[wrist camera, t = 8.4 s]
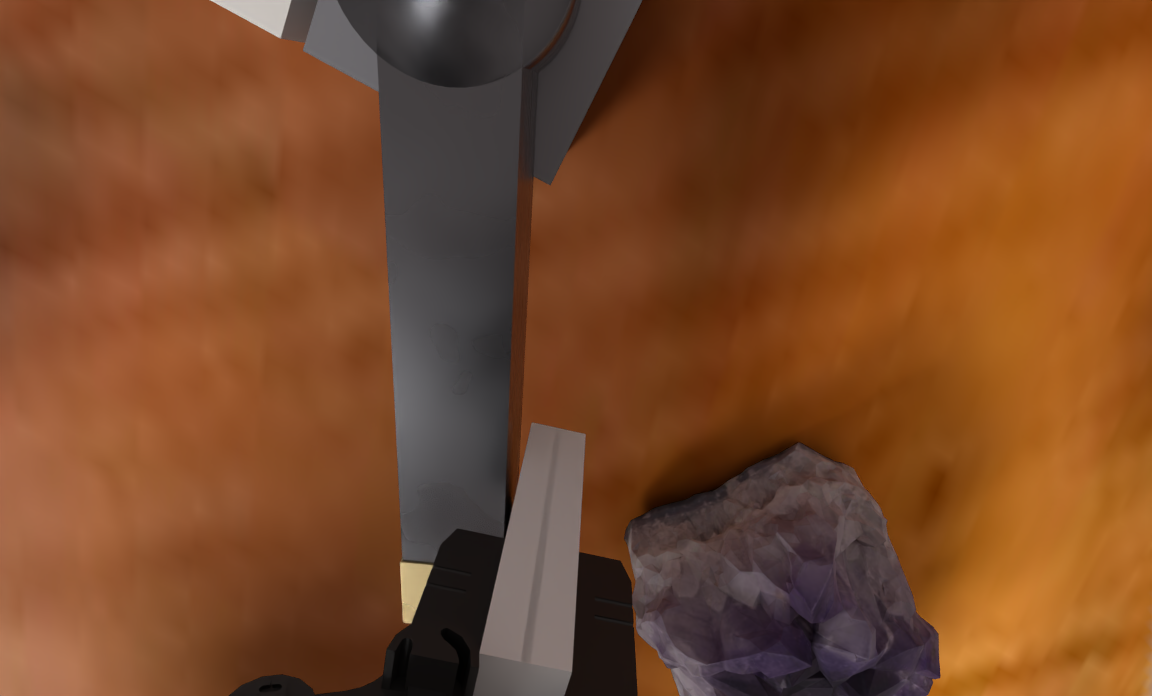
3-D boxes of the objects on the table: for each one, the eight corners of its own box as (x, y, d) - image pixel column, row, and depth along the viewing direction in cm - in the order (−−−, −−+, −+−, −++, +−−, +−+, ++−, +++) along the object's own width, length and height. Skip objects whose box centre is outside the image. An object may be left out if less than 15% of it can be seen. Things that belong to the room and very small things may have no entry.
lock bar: (409, 534, 18) (373, 620, 15) (379, -154, 11) (303, -240, 8) (541, 546, 18) (530, 634, 15) (591, -135, 11) (590, -214, 8)
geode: (903, 714, 33) (985, 962, 24) (695, 715, 36) (700, 937, 27) (885, 414, 24) (1003, 629, 15) (614, 449, 27) (583, 646, 18)
